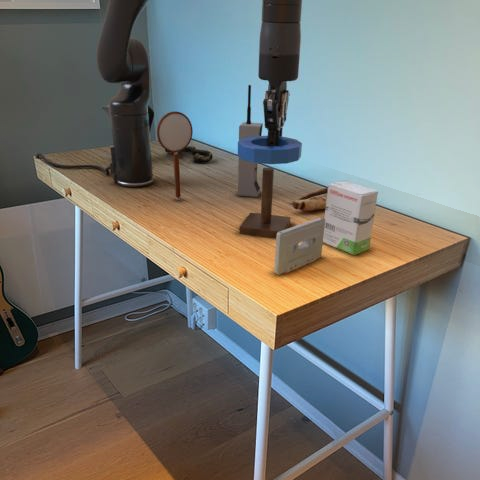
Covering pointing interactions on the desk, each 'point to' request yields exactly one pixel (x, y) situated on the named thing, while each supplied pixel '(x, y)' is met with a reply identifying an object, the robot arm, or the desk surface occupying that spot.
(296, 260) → the cassette
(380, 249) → the desk surface
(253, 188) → the vintage mobile phone
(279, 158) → the tape roll
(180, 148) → the magnifying glass
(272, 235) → the peg stand
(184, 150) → the rubber snake
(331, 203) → the ink box
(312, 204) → the lashed bone hook
